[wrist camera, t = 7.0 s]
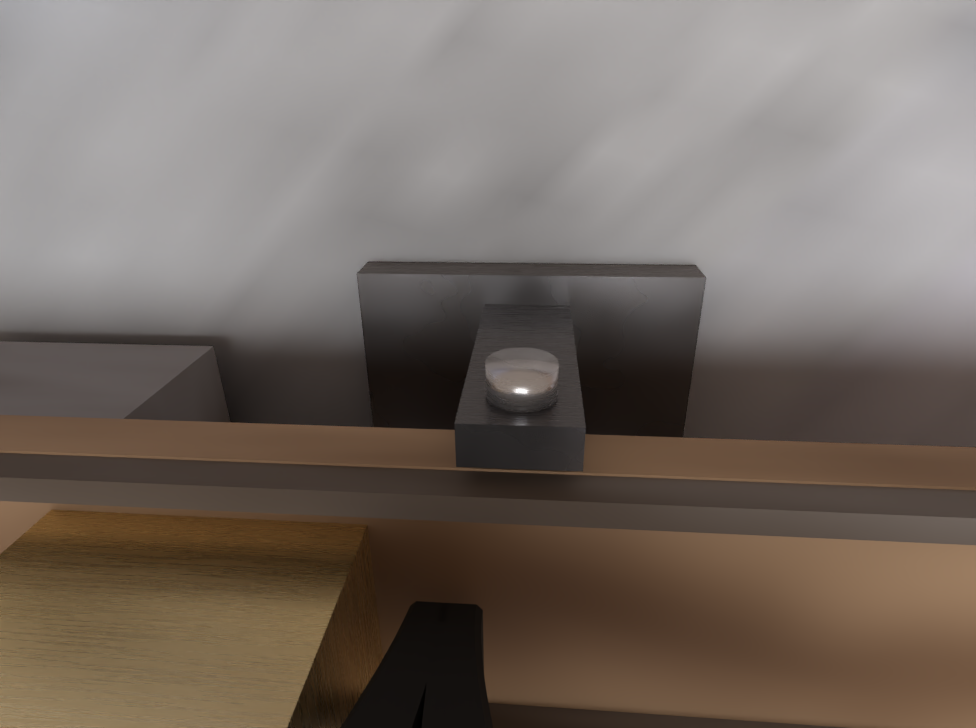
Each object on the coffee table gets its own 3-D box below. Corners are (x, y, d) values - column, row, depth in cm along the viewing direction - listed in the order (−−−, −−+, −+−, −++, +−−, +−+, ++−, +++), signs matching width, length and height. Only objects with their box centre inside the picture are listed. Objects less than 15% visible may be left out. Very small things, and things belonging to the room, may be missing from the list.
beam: (1041, 574, 16) (1283, 813, 11) (36, 525, 19) (-167, 703, 13) (1149, 359, 14) (1538, 538, 8) (-44, 333, 16) (-339, 460, 11)
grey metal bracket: (652, 579, 19) (703, 808, 13) (397, 567, 19) (335, 780, 13) (695, 265, 14) (801, 392, 9) (367, 262, 15) (257, 377, 9)
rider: (385, 677, 12) (321, 921, 9) (110, 659, 13) (-57, 882, 9) (367, 524, 11) (279, 748, 7) (51, 509, 11) (-181, 712, 8)
